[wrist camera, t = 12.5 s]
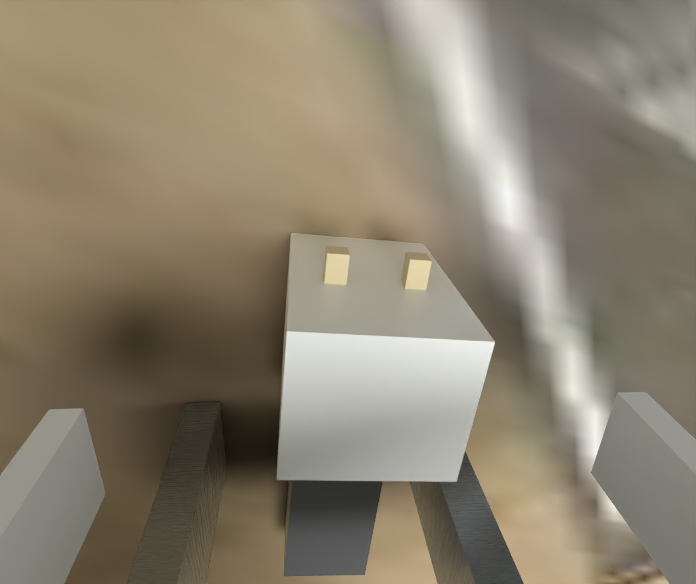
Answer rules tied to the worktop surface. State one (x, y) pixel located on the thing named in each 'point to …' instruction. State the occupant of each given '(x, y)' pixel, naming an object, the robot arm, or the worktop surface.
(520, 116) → the worktop surface
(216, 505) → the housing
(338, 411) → the plug
